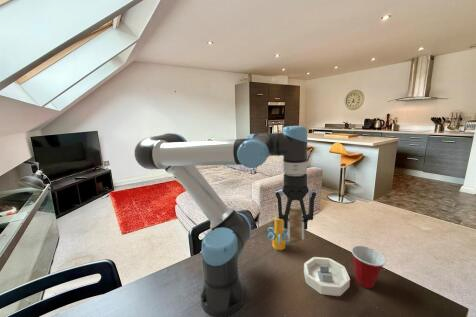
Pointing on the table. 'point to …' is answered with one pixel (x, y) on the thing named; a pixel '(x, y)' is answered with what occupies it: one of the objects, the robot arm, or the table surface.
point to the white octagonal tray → (326, 276)
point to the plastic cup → (367, 265)
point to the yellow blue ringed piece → (278, 234)
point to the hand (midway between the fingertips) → (295, 236)
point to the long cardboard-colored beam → (295, 225)
